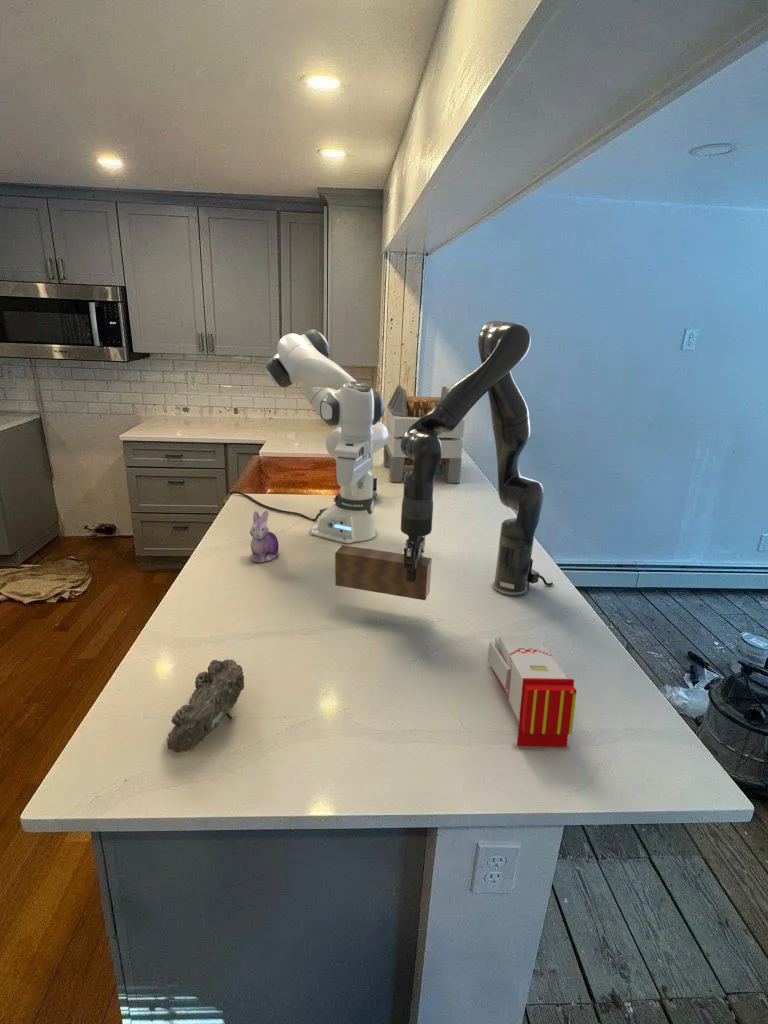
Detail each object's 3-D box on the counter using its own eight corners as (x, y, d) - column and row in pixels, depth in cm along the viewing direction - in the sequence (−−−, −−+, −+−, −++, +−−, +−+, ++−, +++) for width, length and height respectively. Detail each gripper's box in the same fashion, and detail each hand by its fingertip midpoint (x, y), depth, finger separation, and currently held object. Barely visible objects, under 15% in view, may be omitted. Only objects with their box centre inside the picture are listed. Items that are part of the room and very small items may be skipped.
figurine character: (377, 508, 228) (376, 492, 242) (377, 490, 225) (377, 476, 238) (360, 507, 228) (361, 492, 242) (360, 490, 225) (361, 475, 238)
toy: (536, 619, 129) (586, 686, 99) (531, 673, 131) (578, 754, 102) (483, 618, 128) (517, 685, 99) (479, 672, 131) (511, 753, 102)
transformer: (382, 463, 289) (386, 382, 275) (445, 464, 293) (451, 384, 279) (390, 482, 257) (394, 392, 243) (460, 483, 261) (468, 394, 247)
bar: (335, 585, 146) (335, 552, 143) (342, 576, 151) (342, 544, 148) (425, 600, 140) (427, 566, 137) (429, 591, 145) (431, 558, 142)
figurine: (254, 565, 170) (252, 519, 165) (245, 552, 179) (243, 508, 174) (284, 560, 175) (283, 515, 169) (274, 548, 183) (273, 504, 178)
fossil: (192, 660, 117) (244, 628, 112) (224, 691, 120) (276, 661, 115) (142, 746, 98) (202, 712, 93) (182, 779, 101) (242, 748, 96)
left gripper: (357, 435, 162) (356, 481, 167) (332, 451, 144) (331, 502, 148) (378, 437, 161) (377, 484, 165) (355, 453, 142) (354, 505, 147)
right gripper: (426, 525, 129) (421, 592, 135) (438, 505, 142) (433, 567, 147) (394, 521, 131) (391, 587, 136) (408, 502, 144) (405, 562, 149)
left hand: (355, 493), depth 157 cm, fingers open, 8 cm apart
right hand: (413, 576), depth 142 cm, fingers closed on bar, 5 cm apart
